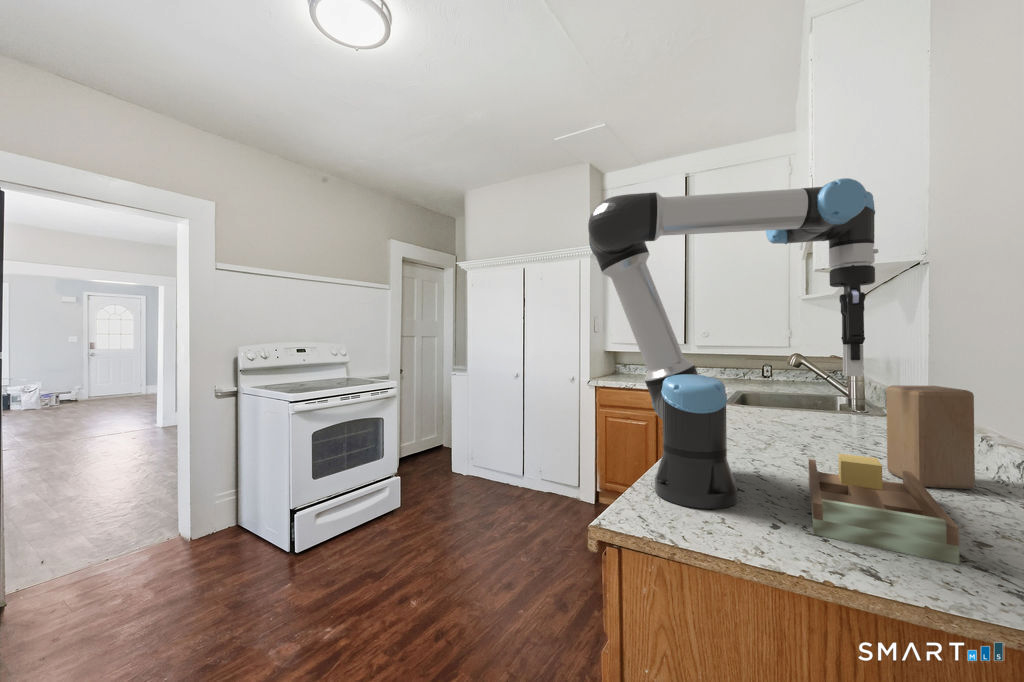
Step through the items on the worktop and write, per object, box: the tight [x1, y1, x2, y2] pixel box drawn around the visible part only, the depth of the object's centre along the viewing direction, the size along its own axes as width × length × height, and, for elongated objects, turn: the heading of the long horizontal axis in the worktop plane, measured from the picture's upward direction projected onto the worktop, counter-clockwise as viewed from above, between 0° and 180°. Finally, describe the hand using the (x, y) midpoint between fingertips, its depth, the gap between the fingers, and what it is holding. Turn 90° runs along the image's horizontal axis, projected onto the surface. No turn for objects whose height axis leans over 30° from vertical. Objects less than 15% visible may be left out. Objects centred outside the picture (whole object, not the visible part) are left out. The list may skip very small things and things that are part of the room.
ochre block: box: [837, 453, 883, 490], centre depth 81 cm, size 6×6×4 cm
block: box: [885, 384, 976, 490], centre depth 88 cm, size 10×10×20 cm
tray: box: [808, 458, 960, 565], centre depth 72 cm, size 16×28×6 cm, turn 145°
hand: (852, 374), depth 88 cm, fingers open, 6 cm apart
